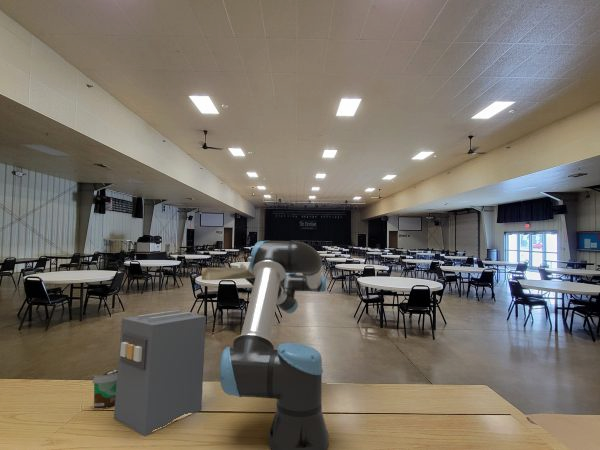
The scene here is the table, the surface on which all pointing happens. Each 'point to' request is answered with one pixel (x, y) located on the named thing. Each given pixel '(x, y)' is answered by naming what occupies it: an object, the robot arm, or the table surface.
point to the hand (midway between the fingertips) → (243, 266)
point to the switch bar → (225, 273)
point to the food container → (105, 389)
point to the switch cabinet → (159, 369)
